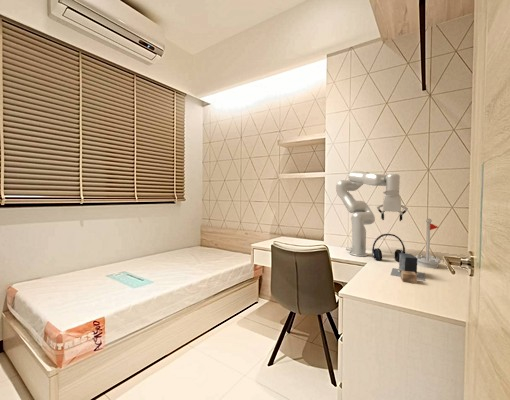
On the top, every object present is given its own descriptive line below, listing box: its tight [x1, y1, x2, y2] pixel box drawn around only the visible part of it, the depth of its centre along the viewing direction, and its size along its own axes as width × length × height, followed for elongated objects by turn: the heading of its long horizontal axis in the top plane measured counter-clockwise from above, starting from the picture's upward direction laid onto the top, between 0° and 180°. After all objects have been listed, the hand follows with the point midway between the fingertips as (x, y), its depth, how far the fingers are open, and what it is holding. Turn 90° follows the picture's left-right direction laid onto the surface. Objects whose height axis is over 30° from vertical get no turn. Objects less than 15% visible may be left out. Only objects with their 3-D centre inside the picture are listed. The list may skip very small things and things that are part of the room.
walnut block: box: [400, 270, 418, 285], centre depth 129 cm, size 6×6×5 cm
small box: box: [398, 252, 418, 275], centre depth 140 cm, size 11×6×10 cm, turn 165°
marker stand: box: [415, 218, 441, 269], centre depth 160 cm, size 13×13×30 cm
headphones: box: [371, 233, 406, 262], centre depth 170 cm, size 20×7×18 cm, turn 81°
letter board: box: [390, 267, 426, 282], centre depth 140 cm, size 16×16×1 cm
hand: (391, 220), depth 160 cm, fingers open, 9 cm apart
